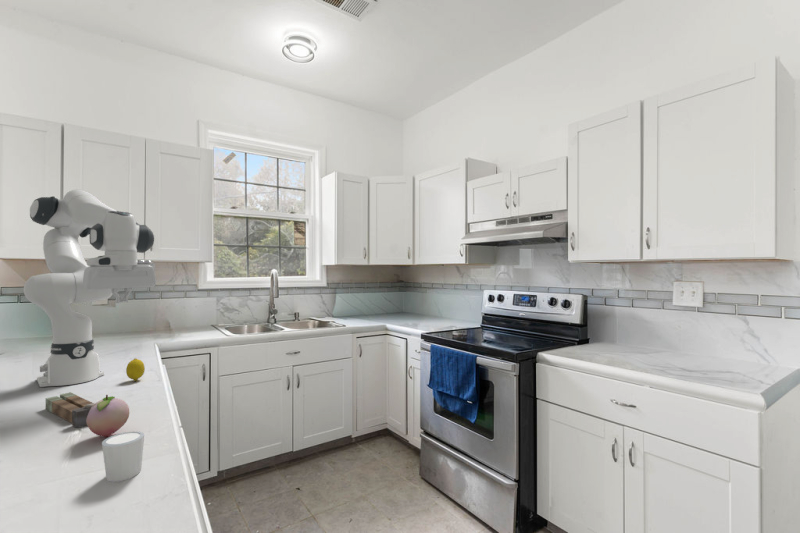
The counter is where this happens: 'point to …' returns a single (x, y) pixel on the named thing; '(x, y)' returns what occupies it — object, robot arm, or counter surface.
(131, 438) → the shot glass
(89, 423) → the decorative fruit
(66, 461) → the counter surface
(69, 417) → the tongs base
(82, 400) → the tongs arm
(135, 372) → the lemon
